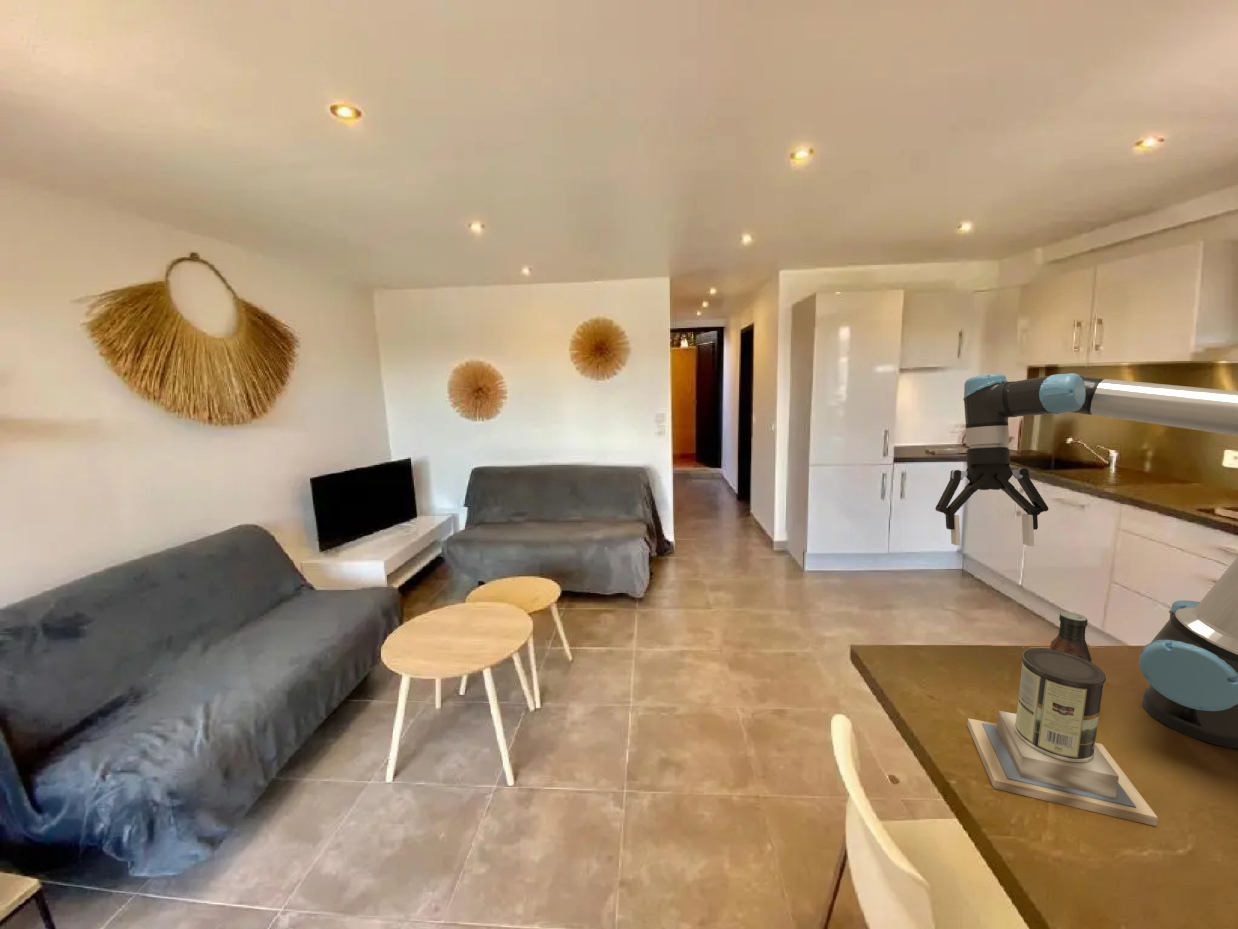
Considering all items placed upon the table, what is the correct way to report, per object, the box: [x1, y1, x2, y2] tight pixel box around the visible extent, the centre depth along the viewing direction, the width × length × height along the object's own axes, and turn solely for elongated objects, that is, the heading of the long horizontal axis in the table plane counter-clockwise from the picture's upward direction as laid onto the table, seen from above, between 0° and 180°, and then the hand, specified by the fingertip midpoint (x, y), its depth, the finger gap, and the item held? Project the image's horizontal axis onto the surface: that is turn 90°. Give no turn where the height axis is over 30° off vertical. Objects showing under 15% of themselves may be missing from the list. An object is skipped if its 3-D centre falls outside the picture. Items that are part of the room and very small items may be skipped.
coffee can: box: [1015, 647, 1107, 763], centre depth 82 cm, size 10×10×14 cm
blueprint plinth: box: [967, 710, 1159, 827], centre depth 84 cm, size 20×16×6 cm
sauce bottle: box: [1049, 611, 1093, 663], centre depth 98 cm, size 6×6×20 cm
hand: (991, 545), depth 107 cm, fingers open, 13 cm apart
